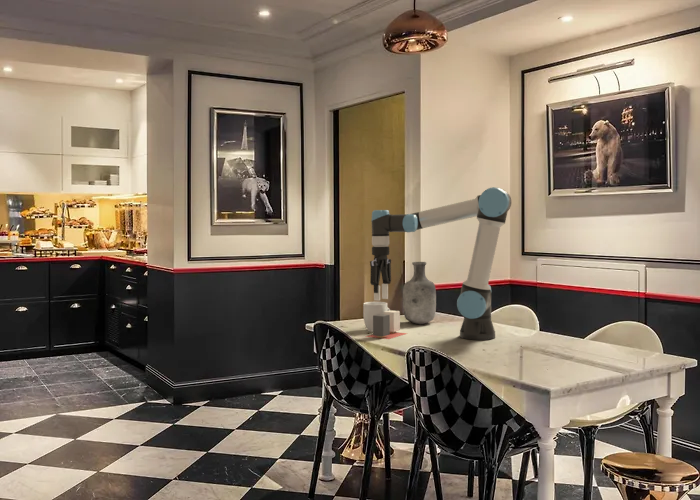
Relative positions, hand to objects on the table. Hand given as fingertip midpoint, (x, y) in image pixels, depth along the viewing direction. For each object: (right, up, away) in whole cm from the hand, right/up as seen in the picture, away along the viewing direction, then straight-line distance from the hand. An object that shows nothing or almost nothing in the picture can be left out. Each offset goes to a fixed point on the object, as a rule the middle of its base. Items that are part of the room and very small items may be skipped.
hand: (381, 299), depth 294 cm
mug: (-1, -16, +19) cm, 25 cm away
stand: (+3, -16, +6) cm, 18 cm away
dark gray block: (0, -15, +1) cm, 15 cm away
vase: (+21, -15, +39) cm, 47 cm away
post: (0, -16, +1) cm, 16 cm away
